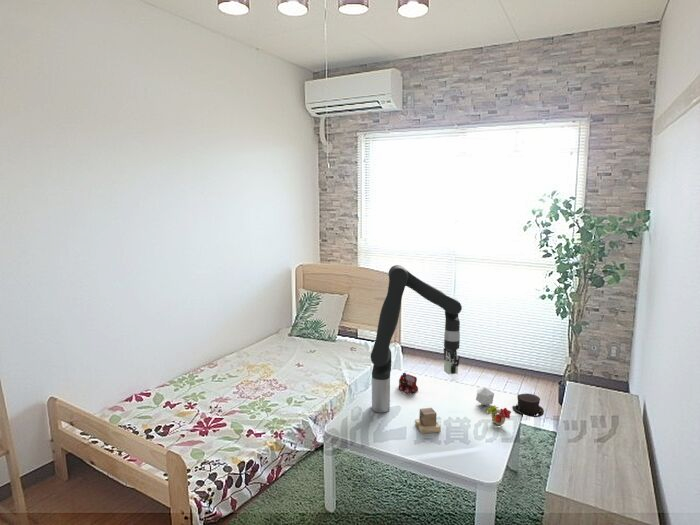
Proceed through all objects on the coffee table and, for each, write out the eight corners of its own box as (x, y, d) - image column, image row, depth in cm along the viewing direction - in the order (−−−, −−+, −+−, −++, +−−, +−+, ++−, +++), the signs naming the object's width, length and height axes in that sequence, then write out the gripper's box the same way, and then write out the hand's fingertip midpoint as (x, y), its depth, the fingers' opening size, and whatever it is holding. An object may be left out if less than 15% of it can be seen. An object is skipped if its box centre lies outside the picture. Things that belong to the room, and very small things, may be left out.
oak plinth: (415, 424, 217) (415, 419, 217) (432, 422, 219) (433, 417, 219) (422, 433, 208) (422, 428, 208) (440, 431, 210) (440, 426, 210)
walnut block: (419, 420, 215) (419, 408, 215) (431, 419, 217) (431, 407, 216) (424, 426, 210) (424, 414, 209) (436, 425, 211) (436, 413, 210)
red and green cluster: (491, 418, 223) (492, 400, 222) (513, 426, 215) (514, 407, 214) (485, 422, 219) (485, 404, 218) (506, 430, 211) (507, 412, 210)
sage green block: (444, 370, 230) (444, 361, 230) (453, 370, 231) (453, 360, 231) (448, 374, 225) (448, 364, 225) (457, 373, 227) (458, 364, 226)
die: (496, 407, 235) (497, 389, 233) (482, 410, 232) (483, 391, 230) (486, 401, 243) (487, 383, 241) (472, 403, 239) (473, 385, 238)
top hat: (528, 402, 242) (529, 383, 240) (550, 414, 228) (551, 394, 227) (506, 407, 236) (506, 388, 234) (527, 419, 222) (528, 399, 221)
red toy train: (404, 386, 262) (404, 369, 261) (420, 393, 253) (420, 375, 251) (395, 389, 258) (395, 372, 257) (411, 396, 248) (411, 378, 247)
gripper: (465, 342, 220) (464, 376, 222) (452, 334, 234) (451, 365, 236) (451, 343, 218) (450, 377, 221) (438, 334, 232) (437, 366, 234)
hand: (450, 371), depth 228 cm, fingers closed on sage green block, 5 cm apart
